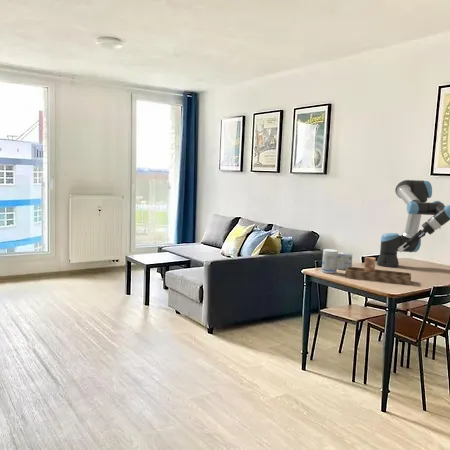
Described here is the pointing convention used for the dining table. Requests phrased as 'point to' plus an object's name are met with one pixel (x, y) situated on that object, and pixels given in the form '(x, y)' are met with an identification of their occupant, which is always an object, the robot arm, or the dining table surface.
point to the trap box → (379, 275)
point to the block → (369, 264)
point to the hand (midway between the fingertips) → (399, 250)
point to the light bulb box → (344, 260)
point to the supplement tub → (329, 261)
